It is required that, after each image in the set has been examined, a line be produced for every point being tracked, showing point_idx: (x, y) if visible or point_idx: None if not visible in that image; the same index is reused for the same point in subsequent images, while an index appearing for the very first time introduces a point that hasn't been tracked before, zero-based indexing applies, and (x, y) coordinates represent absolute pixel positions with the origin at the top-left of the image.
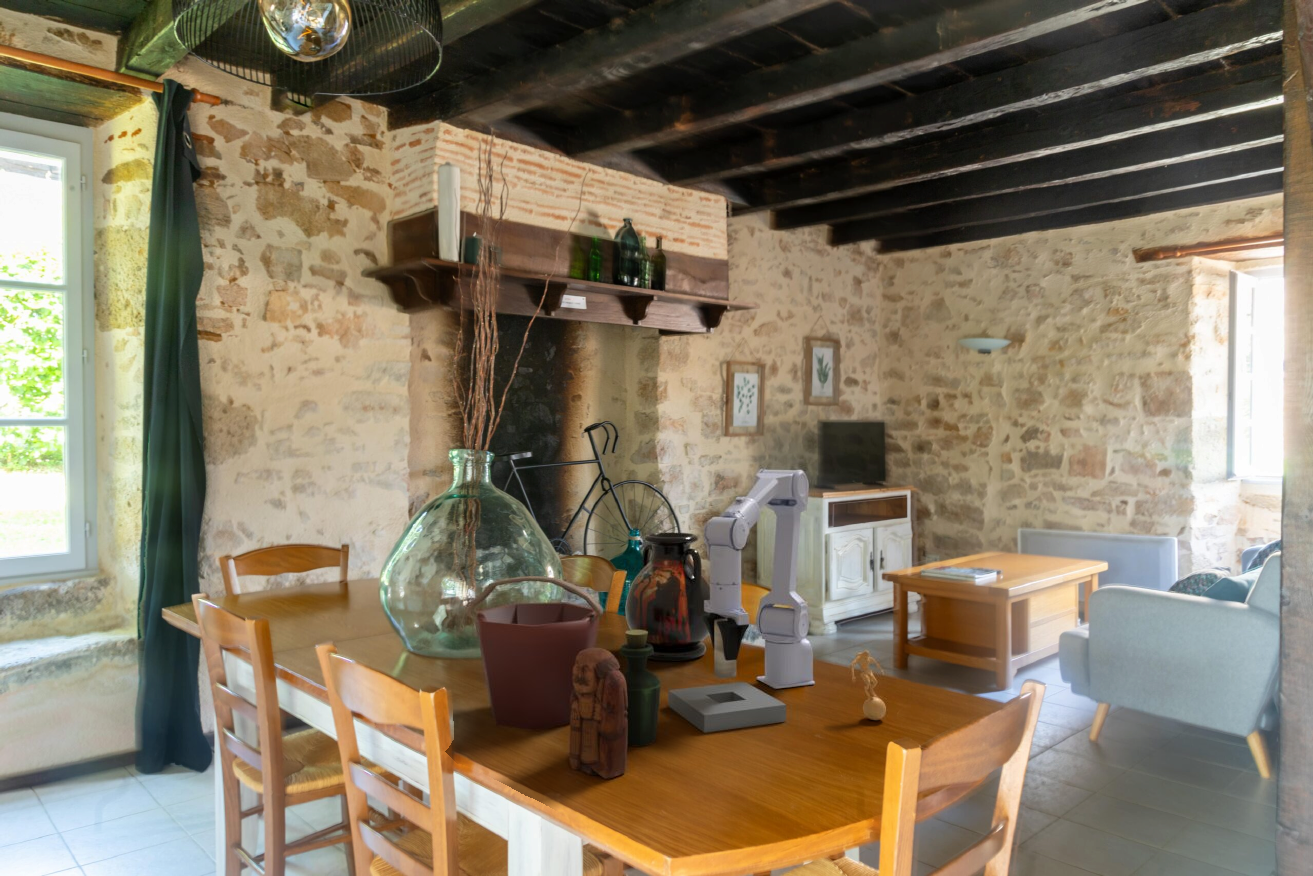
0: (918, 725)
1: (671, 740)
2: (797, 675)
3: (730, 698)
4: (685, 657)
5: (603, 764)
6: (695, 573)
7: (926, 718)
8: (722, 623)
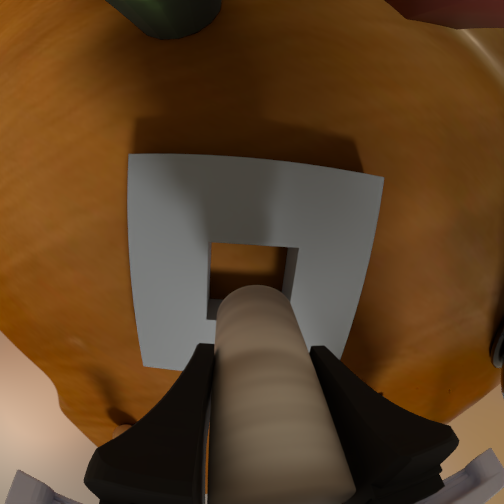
0: (105, 438)
1: (137, 67)
2: None
3: None
4: (499, 331)
5: None
6: None
7: None
8: (95, 481)
